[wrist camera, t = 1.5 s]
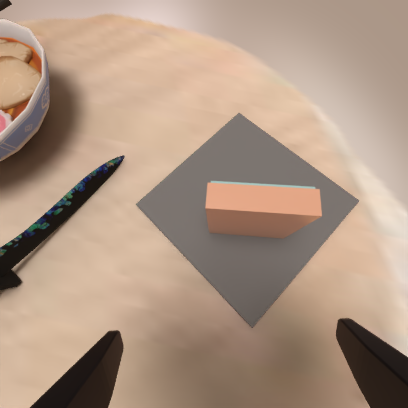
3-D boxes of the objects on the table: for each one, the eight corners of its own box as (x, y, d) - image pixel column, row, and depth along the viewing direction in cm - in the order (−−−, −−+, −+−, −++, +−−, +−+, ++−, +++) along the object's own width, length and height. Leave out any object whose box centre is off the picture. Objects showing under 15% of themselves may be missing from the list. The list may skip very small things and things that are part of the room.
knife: (-106, 393, 20) (-185, 419, 16) (-119, 367, 21) (-198, 385, 16) (143, 178, 29) (134, 159, 25) (128, 166, 30) (117, 145, 26)
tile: (283, 238, 23) (322, 216, 15) (209, 232, 24) (205, 208, 15) (282, 218, 24) (319, 185, 15) (210, 213, 25) (207, 179, 16)
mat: (356, 202, 25) (359, 200, 24) (251, 326, 21) (252, 328, 21) (238, 115, 29) (238, 112, 29) (137, 205, 26) (135, 204, 25)
